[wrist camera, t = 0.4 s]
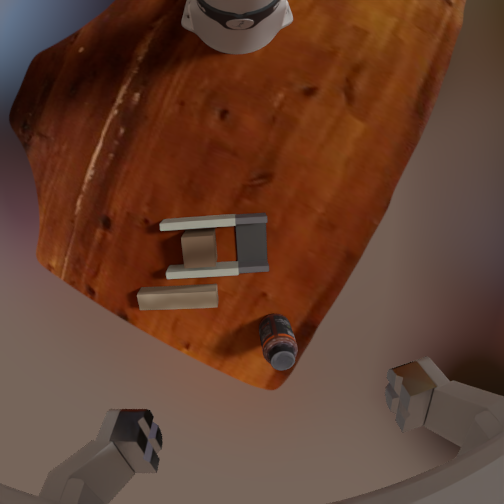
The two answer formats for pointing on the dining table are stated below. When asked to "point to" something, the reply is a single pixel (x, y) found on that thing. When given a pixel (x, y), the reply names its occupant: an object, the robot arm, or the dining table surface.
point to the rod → (178, 297)
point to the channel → (248, 244)
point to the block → (199, 248)
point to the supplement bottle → (278, 341)
